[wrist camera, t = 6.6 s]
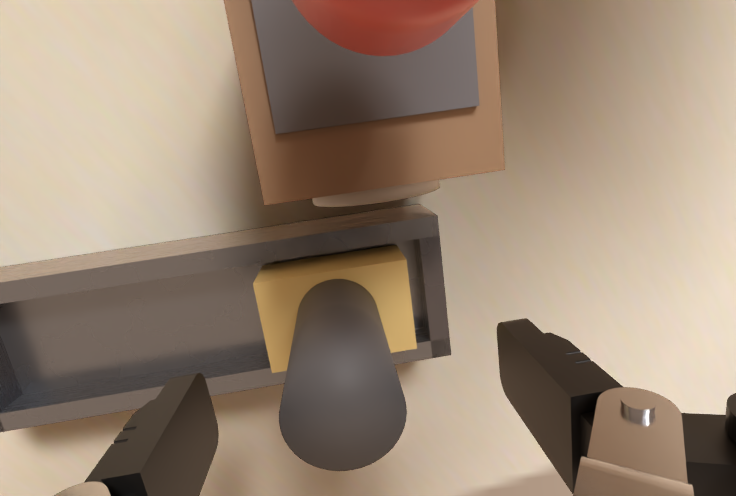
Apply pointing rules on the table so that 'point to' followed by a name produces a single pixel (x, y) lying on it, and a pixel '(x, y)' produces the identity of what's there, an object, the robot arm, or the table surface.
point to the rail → (181, 313)
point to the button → (383, 22)
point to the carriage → (338, 352)
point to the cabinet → (365, 108)
